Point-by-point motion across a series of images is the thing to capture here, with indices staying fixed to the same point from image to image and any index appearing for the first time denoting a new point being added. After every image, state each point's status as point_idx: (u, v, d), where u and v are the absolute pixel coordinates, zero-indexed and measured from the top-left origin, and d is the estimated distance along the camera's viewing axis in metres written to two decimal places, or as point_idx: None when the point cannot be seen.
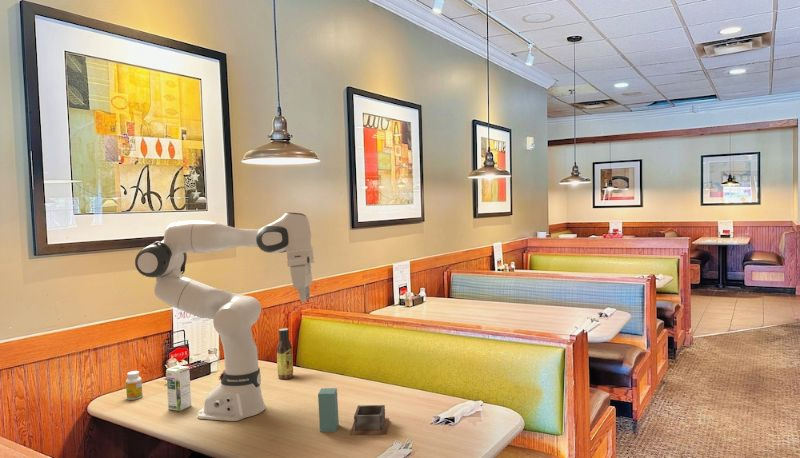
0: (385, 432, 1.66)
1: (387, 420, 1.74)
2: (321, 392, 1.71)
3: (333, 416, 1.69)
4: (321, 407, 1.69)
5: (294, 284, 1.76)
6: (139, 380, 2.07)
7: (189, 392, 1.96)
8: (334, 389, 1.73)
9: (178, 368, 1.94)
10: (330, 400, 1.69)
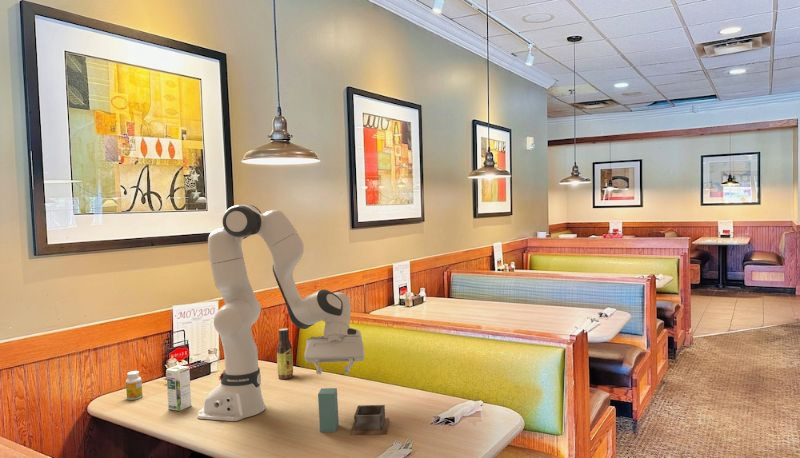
0: (385, 432, 1.66)
1: (387, 420, 1.74)
2: (321, 392, 1.71)
3: (333, 416, 1.69)
4: (321, 407, 1.69)
5: (363, 352, 1.83)
6: (139, 380, 2.07)
7: (189, 392, 1.96)
8: (334, 389, 1.73)
9: (178, 368, 1.94)
10: (330, 400, 1.69)
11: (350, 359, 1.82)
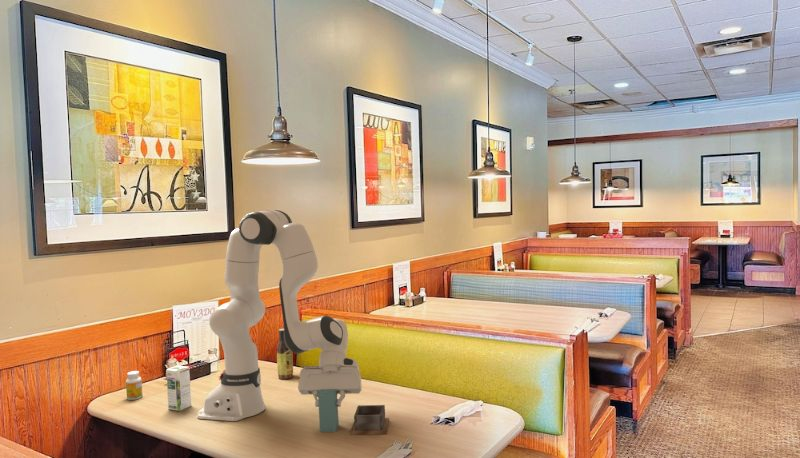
0: (385, 432, 1.66)
1: (387, 420, 1.74)
2: (321, 392, 1.71)
3: (333, 416, 1.69)
4: (321, 407, 1.69)
5: (360, 384, 1.74)
6: (139, 380, 2.07)
7: (189, 392, 1.96)
8: (334, 389, 1.73)
9: (178, 368, 1.94)
10: (330, 400, 1.69)
11: (341, 392, 1.73)
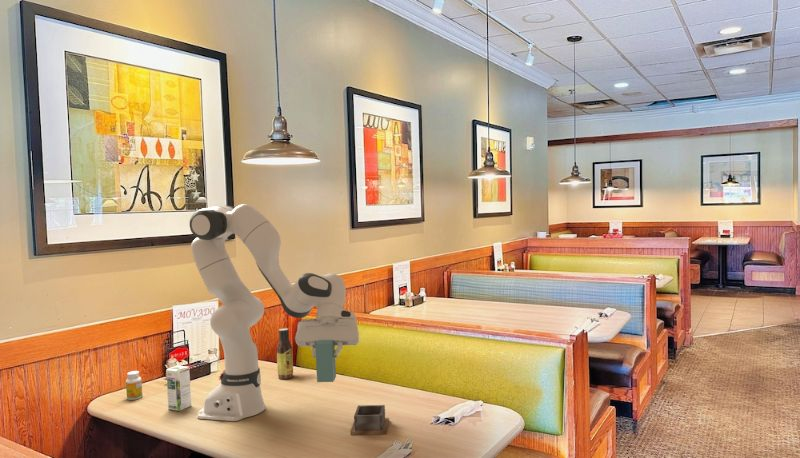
0: (385, 432, 1.66)
1: (387, 420, 1.74)
2: (318, 342, 1.70)
3: (330, 366, 1.69)
4: (319, 357, 1.69)
5: (357, 336, 1.73)
6: (139, 380, 2.07)
7: (189, 392, 1.96)
8: (331, 340, 1.72)
9: (178, 368, 1.94)
10: (327, 350, 1.68)
11: (339, 343, 1.72)
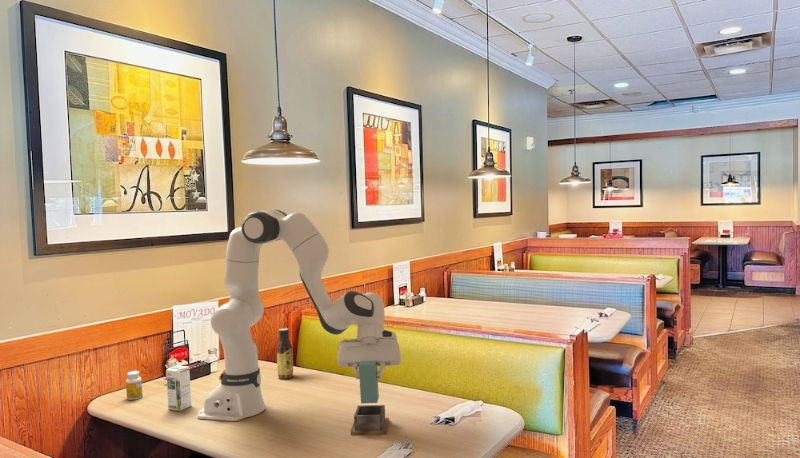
0: (385, 432, 1.66)
1: (387, 420, 1.74)
2: (361, 363, 1.69)
3: (374, 387, 1.68)
4: (362, 378, 1.68)
5: (400, 356, 1.72)
6: (139, 380, 2.07)
7: (189, 392, 1.96)
8: (374, 361, 1.71)
9: (178, 368, 1.94)
10: (371, 372, 1.68)
11: (381, 363, 1.72)
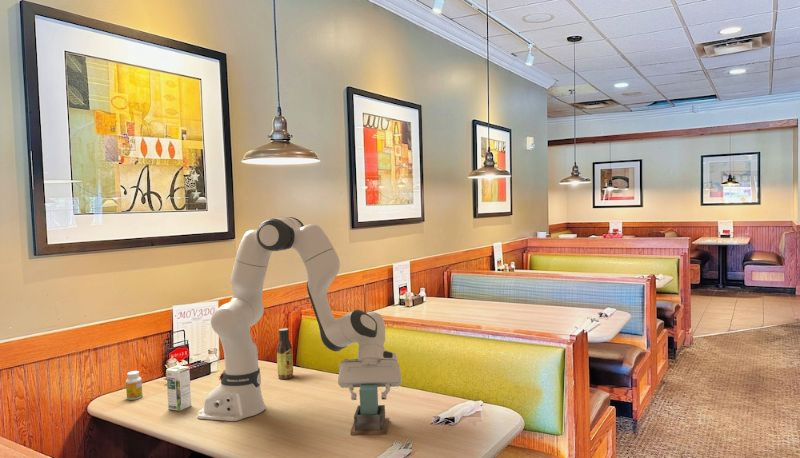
0: (385, 432, 1.66)
1: (387, 420, 1.74)
2: (362, 388, 1.70)
3: (374, 412, 1.68)
4: (363, 403, 1.69)
5: (400, 377, 1.73)
6: (139, 380, 2.07)
7: (189, 392, 1.96)
8: (375, 385, 1.72)
9: (178, 368, 1.94)
10: (371, 396, 1.68)
11: (387, 384, 1.72)
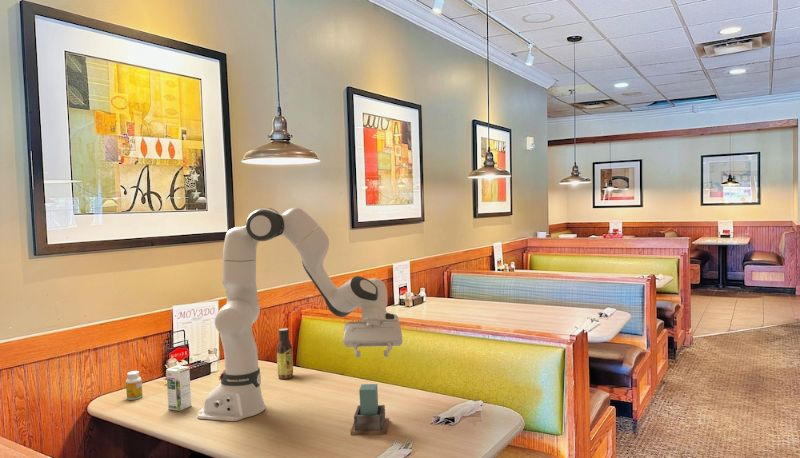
0: (385, 432, 1.66)
1: (387, 420, 1.74)
2: (362, 388, 1.70)
3: (374, 412, 1.68)
4: (363, 403, 1.69)
5: (401, 337, 1.85)
6: (139, 380, 2.07)
7: (189, 392, 1.96)
8: (375, 385, 1.72)
9: (178, 368, 1.94)
10: (371, 396, 1.68)
11: (389, 343, 1.84)
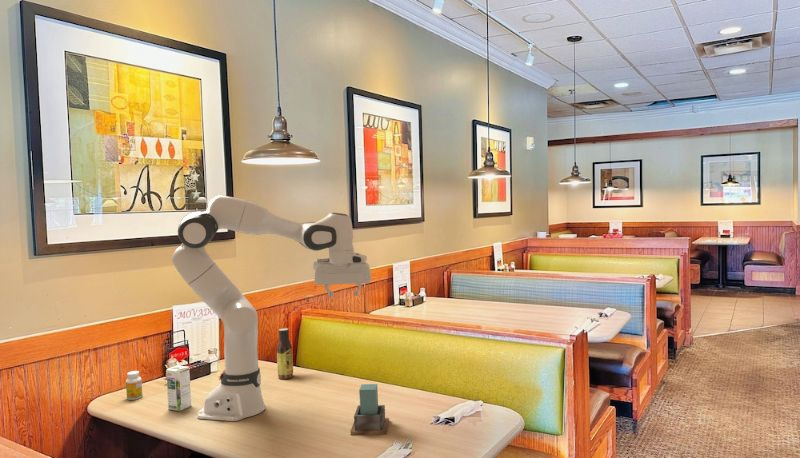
0: (385, 432, 1.66)
1: (387, 420, 1.74)
2: (362, 388, 1.70)
3: (374, 412, 1.68)
4: (363, 403, 1.69)
5: (370, 278, 1.94)
6: (139, 380, 2.07)
7: (189, 392, 1.96)
8: (375, 385, 1.72)
9: (178, 368, 1.94)
10: (371, 396, 1.68)
11: (358, 284, 1.94)
